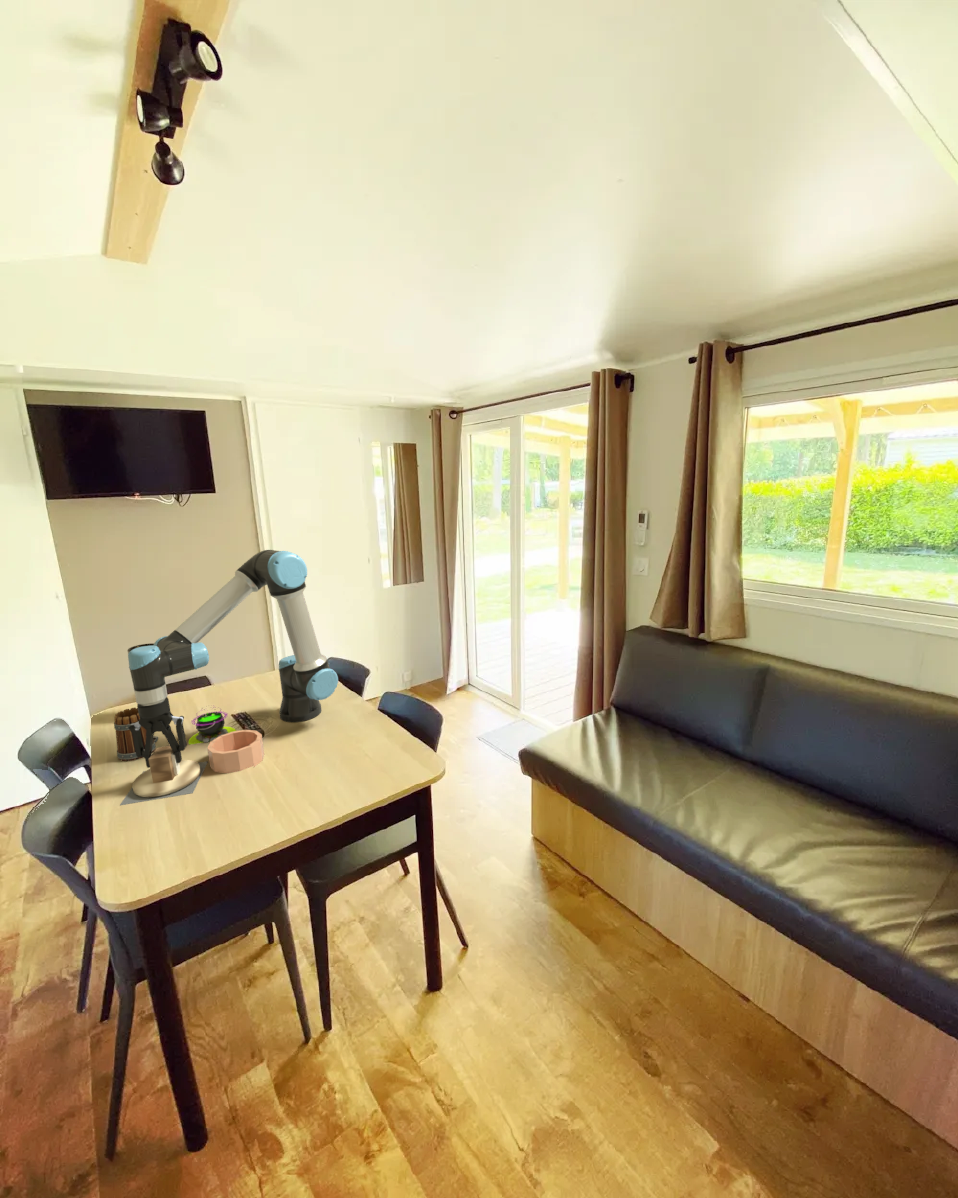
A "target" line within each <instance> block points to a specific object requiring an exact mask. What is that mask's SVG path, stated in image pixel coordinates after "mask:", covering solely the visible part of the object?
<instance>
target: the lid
mask: <svg viewBox="0 0 958 1198" xmlns="http://www.w3.org/2000/svg"><path fill="white" fill-rule="evenodd" d="M172 753H173V750H172V749H171V747H170V745H167V746H158V747H156V750H155V751H154V752H153V753H152V754H151V757H150V758H149V764H150V768H148V769H147V770H144V771H145V772H143V771H142V773H141V774H139V775H138V776H136V778H135V779H134V780H133V781H132V787H133V792H134V793H135V794H136V795H137V796H141V797H156V796H162V795H166V794H169V793H172V792H175V791H178V790H180V789H182V788H184V787H186V786H188V785H189V784H191V783H192V782H194V781H195V780H196V779H197V778H198V777H199V775H200V766H199V764H198V763H199V762H197V761H195V760H191V759H182V760H181V762H180V763H179V765H180V772H179V773H178V775H175V773H174V768H173V762H172V757H171V754H172ZM132 787H131V788H132Z"/></svg>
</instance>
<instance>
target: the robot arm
mask: <svg viewBox="0 0 958 1198" xmlns="http://www.w3.org/2000/svg"><path fill="white" fill-rule="evenodd" d="M307 577H308V567H307V564H306V562H305V561H304V559H303V558H302V557H301V556H299V555H298V554H296V553H293V552H291V551H288V550H274V549H266V550H261V551H259V552H257V553H256V554H254V555H252V556H251V557H250V558H249V559H247V561H245V562H244V563H243V564H241V566H240V567H238V568H237V569H236V570H235V571H234V576H233V577H232V578H231V579H230V580H229V581H227V583H226V584H224V585H223V586H222V587H220V589H218V590H217V592H215V594H213V595H212V596H211V597H210V598H209V599H208V600H207V601H205V602H204V603H203V604H202V605H201V606H200V607H199V608H198V609H197V610H196V611H194V612H193V613H192V614H191V615H190V616H189V617H188V618H187V619H185V620H183V621H184V622H182V623H181V624H180V625H178V627H177V628H176V629H174V630H173V631H171V633H169V634H168V635H165V636H162V637H159V638H158V639H156V640H155V642H154V645H153V646H143V647H138V648H135V649H133V650H131V651H130V652H129V654H128V653H127V658H128V659H127V660H128V668H129V672H130V677H131V681H132V686H133V690H134V696H135V702H136V703H135V704H137V703H138V705H137V706H136V707H137V708H138V712H139V717H140V719H139V721H138V722H136V723H135V722H133V723H132V724H131V725H130V726H129V730H130V731H131V733H132V735H133V740H134V746H135V751H136V756H137V757H144V758H143V759H145V765H146V768H147V769H150V764H149V758H150V757H151V755H152V754H153V753H152V745H153V737H154V736H155V733H156V732H159V733H162V735H163V736H164V737H165V739H166V741H167V743H168V746H170V747H171V749H172V750H173V753H172V754H171V757H172V762H173V768H174V773H175V775H178V773H179V772H180V765H179V763H180V762H181V760H183V757H182V751H183V752H184V751H185V750H186V748H187V746H188V742H187V738H186V733H185V728H184V720H185V717H184V716H183V715H180V716H175V715H174V714H173V713H172V712H171V706H170V701H169V698H167V697H168V691H167V685H166V679H165V678H166V677H169V676H170V677H171V676H174V675H178V674H182V673H186V672H189V671H190V672H191V671H194V670H197V669H201V668H203V667H206V666H208V664H209V662H210V655H209V651H208V647H207V646H206V644H204V642H202V641H201V640H203V638H205V636H206V635H208V634H209V633H210V632H211V631H212V630H213V629H214V628H215V627H216V626H217V625H219V624H220V622H222V620H224V619H225V618H226V617H227V616H228V615H229V614H230V613H231V612H233V611H234V610H235V608H237V607H238V606H239V605H240V604H241V603H242V602H243V601H244V600H245V599H247V598H248V596H250V595H251V594H252V593H253V592H254V593H257V592H258V591H260V590H261V589H262V588H263V587H265V586H266V587H267V589H268V593H269V595H270V596H271V597H272V598H273V599H276V601H277V604H278V607H279V608H278V609H279V611H280V615H281V617H282V620H283V623H284V627H285V629H286V632H287V636H288V640H289V642H290V643H289V644H290V646H291V649H292V652H293V654H292V655H289V656H288V655H287V656H285V657H283V658H281V659H280V660H279V661H278V672H279V680H280V687H281V694H282V696H281V697H282V698H281V703H280V708H279V711H278V712H279V718H280V720H281V721H283V722H287V723H299V722H304V721H308V720H312V719H314V718H316V717H317V716H320V714H321V713H322V704H321V702H320V701H323V700H326V699H328V698H329V697H331V696H332V695H333V694H334V692H335V690H336V688H337V687H338V685H339V676H338V674H337V672H336V671H335V670H334V669H332V668H330V665H329V661H328V657H327V656H325V655H324V654H322V653H321V650H320V647H319V643H318V640H317V636H316V633H315V629H314V627H313V626H314V625H313V623H312V620H311V616H310V611H309V609H308V605H307V602H306V599H305V595H304V591H305V589H306V587H307V584H306V578H307ZM200 641H201V642H200ZM172 722H173V724H174V725H175V731H176V735H177V738H176V736H175V734H174V733H173V731H172V726H171V725H170V724H171V723H172ZM140 725H141V726H142V727H143V728H145V729H146V743H145V751H144V747H143V742H142V736H141V731H140ZM154 732H155V733H154ZM151 753H152V754H151Z"/></svg>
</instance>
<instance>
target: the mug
mask: <svg viewBox="0 0 958 1198" xmlns="http://www.w3.org/2000/svg"><path fill="white" fill-rule="evenodd" d="M139 719H140V717H139V712H138V707H137V708H136V707H131V708H130V709H129V708H126V709H124V710H121V711H118V712H117V713H115V714H114V722H113V724H114V726H113V727H114V728H113V729H114V730H115V739H116V749H117V750H116V756H117V758H118V761H121V762H134V761H137V760H141V759H145V758H144V757H137V756H136V751H135V746H134V740H133V735H132V733H131V731H130V730H129V726H130V725H131V724H132V723H133V722H135V723H136V722H138V721H139ZM140 731H141V736H142V742H143V747H144V751H145V743H146V729H145V728H143V727H142V726H141V725H140ZM155 733H156V732H154V734H155ZM158 740H159V736H158V735H154V737H153V745H152V753H151V755H152V754H153V752H154V751H155V750H156V748H157V747H156V745H157V744H156V743H157V742H158Z"/></svg>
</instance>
